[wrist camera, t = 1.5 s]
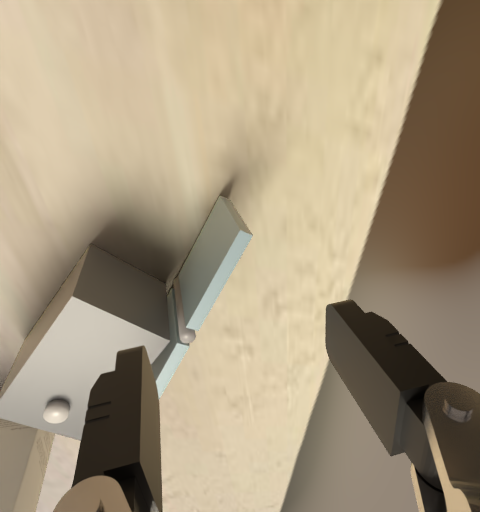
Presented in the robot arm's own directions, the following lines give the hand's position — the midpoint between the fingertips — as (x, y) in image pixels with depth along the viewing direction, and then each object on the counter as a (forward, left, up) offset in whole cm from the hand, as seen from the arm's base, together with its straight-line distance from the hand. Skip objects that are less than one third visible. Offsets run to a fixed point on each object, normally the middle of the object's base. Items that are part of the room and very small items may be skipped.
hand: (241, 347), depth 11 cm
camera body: (+13, +16, -27) cm, 34 cm away
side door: (+2, +13, -27) cm, 31 cm away
